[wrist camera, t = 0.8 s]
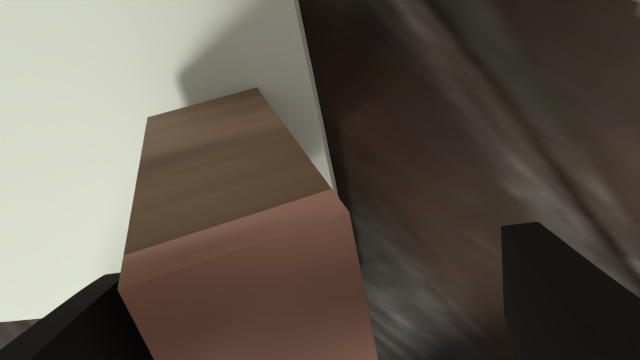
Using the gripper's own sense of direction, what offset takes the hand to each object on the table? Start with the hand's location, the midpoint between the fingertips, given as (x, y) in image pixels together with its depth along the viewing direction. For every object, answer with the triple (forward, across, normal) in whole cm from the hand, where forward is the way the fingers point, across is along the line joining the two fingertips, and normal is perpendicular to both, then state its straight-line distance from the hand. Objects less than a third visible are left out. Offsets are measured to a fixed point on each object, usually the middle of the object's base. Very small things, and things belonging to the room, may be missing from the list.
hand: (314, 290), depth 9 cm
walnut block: (+9, +5, 0) cm, 10 cm away
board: (+10, +11, 0) cm, 15 cm away
